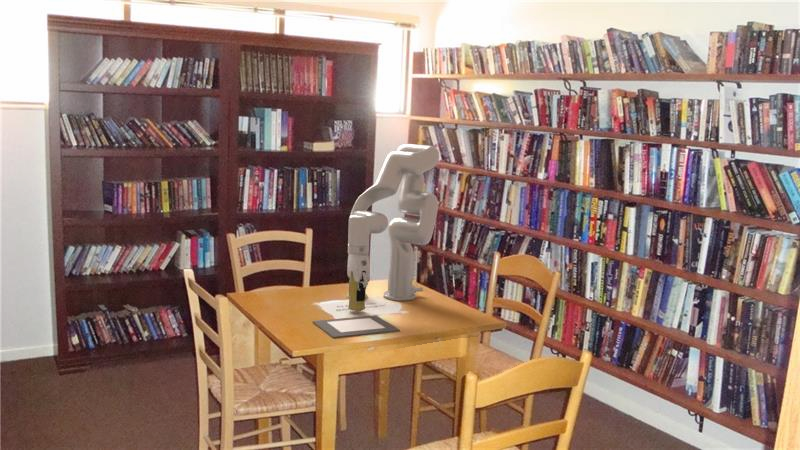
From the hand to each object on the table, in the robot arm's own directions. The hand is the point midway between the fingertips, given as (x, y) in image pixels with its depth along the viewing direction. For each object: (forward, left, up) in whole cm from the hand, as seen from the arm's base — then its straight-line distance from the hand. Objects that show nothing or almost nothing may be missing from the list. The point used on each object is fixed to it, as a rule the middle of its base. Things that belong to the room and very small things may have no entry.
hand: (357, 298), depth 262 cm
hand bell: (-9, -20, -5) cm, 22 cm away
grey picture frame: (+8, +16, -5) cm, 19 cm away
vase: (0, 0, -4) cm, 4 cm away
